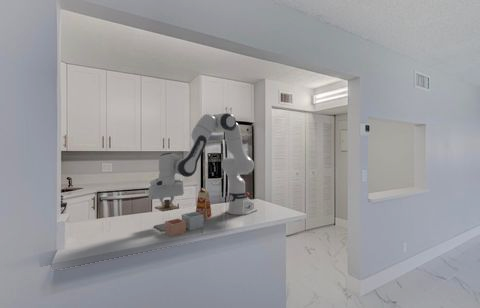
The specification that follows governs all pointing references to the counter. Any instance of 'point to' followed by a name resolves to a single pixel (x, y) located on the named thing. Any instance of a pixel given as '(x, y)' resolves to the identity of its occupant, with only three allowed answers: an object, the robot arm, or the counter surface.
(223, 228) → the counter surface
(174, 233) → the orange open box
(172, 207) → the lid
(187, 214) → the blue-grey open box
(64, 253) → the counter surface
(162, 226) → the mat
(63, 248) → the counter surface
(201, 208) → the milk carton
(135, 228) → the counter surface
